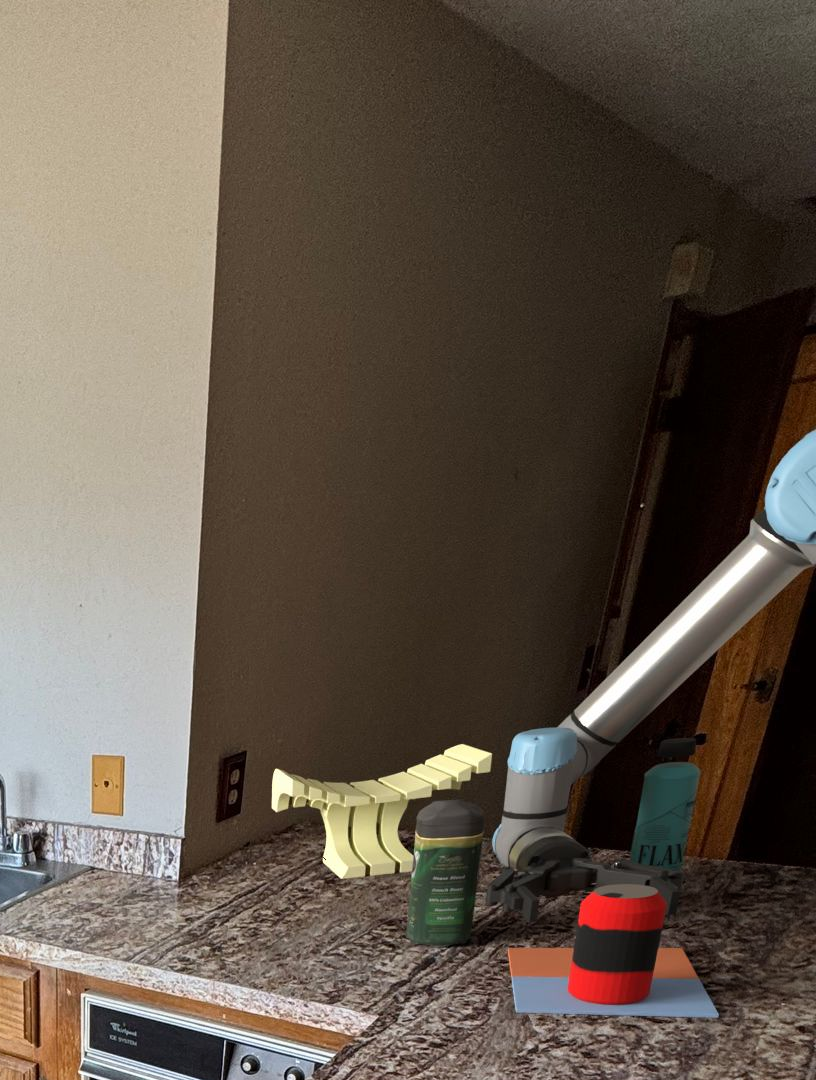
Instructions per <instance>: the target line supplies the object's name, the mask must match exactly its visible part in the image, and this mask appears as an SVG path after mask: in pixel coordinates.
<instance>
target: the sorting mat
mask: <svg viewBox="0 0 816 1080" xmlns="http://www.w3.org/2000/svg"><path fill="white" fill-rule="evenodd" d="M573 951H574V947H508V948H507V955H508V962H509V970H510V979H511V985H512V992H513V1001H514V1009H515V1013H517V1014H518V1013H519V1014H556V1015H590V1016H591V1015H593V1016H594V1015H596V1016H626V1017H627V1016H631V1017H632V1016H635V1017H666V1018H667V1017H669V1018H702V1019H703V1018H705V1019H706V1018H707V1019H708V1018H709V1019H711V1018H712V1019H718V1018H719V1016H720V1014H719V1012H718V1011H717V1008H716V1007H715V1005H714V1002H713V1001H712V999H711V997H710V996H709V994H708V992H707V990H706V989H705V986H704V985H703V983H702V981H701V980H700V978H699V975H698V974H697V973H696V970H695V969H694V967H693V965H692V963H691V961H690V960H689V958H688V956H687V954H686V952H685V950H684V949H683V947H658V952H657V957H656V963H655V968H654V973H653V978H652V983H651V988H650V993H649V995H648V996H647V997H646V998H644V999H643V1000H641V1001H639V1002H636V1003H632V1004H624V1005H603V1004H594V1003H589V1002H585V1001H581V1000H579V999H576V998H574V997H573V996H572V995H571V994H570V993H569V992H568V989H567V988H568V982H569V976H570V969H571V963H572V957H573Z"/></svg>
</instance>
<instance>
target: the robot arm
mask: <svg viewBox="0 0 816 1080" xmlns="http://www.w3.org/2000/svg"><path fill="white" fill-rule="evenodd" d="M766 487H767V488H766V489H765V491H766V492H765V495H764V507H763V508H762V509H761V510H760V511H759V512H758V513H757V514H756V515H755V516H754V517H753V518H752V519H751V520H750V525H749V533H748V535H747V536H745V538H744V539H743V540H742V541H741V542H740V543H739V544H738V545H737V546H736V547H735V548H734V549H733V550H732V551H730V553H729V554H728V555H727V556H726V557H724V559H723V560H722V561H721V562H720V563H719V564H718V565H717V566H716V567H715V568H714V569H713V570H712V571H711V572H710V573H709V574H708V575H707V577H705V578H704V579H703V580H701V583H699V584H698V585H697V586H696V587H695V589H693V591H692V592H690V594H688V596H686V597H685V598H684V599H683V600H682V601H681V602H680V603H679V604H678V605H677V607H675V608H674V609H673V610H672V612H670V613H669V614H668V616H667V617H666V618H664V619H663V621H662V622H660V623H659V625H657V626H656V628H655V629H653V631H651V633H650V634H649V635H648V636H646V638H645V639H644V640H643V641H642V642H640V644H638V646H637V647H636V648H635V649H634V650H633V651H632V652H631V653H630V654H629V655H628V656H627V657H626V658H625V659H624V660H623V661H622V662H621V663H620V664H619V665H618V666H617V667H616V668H615V669H614V670H613V671H612V672H611V673H610V674H608V676H607V677H606V678H605V679H604V680H603V681H602V682H601V683H600V684H599V685H598V686H597V687H596V688H595V689H594V690H593V691H592V692H591V693H589V695H588V696H587V697H586V698H585V699H584V700H583V701H581V703H580V704H579V705H578V706H577V707H576V708H575V709H574V710H573V711H572V713H570V714H569V715H568V716H567V717H566V718H565V719H564V720H563V721H561V723H560V724H559V725H558V726H557V727H556V726H555V727H543V728H535V729H529V730H526V731H522V732H519V733H517V734H516V735H515V736H514V738H513V739H512V742H511V746H510V752H509V756H508V757H507V773H506V774H507V776H506V783H505V785H506V786H505V794H504V803H503V810H502V811H503V812H502V817H501V823H500V824H499V826H497V828H496V830H495V831H494V833H493V836H492V840H491V843H492V850H493V852H494V854H495V855H496V859H498V862H499V863H500V864H501V865H502V866H503V867H501V872H500V874H499V875H497V876H496V877H495V878H494V879H493V880H491V882H490V883H489V884H488V885H487V887H486V893H485V894H486V895H485V904H484V905H485V906H487V907H494V906H495V907H496V906H497V905H498V904H499V903H502V907H501V908H502V910H501V911H502V912H503V913H513V912H514V911H517V912H518V913H519V914H520V915H521V916H522V917H523V918H524V919H525V920H526V922H528V923H530V924H532V923H537V922H538V916H539V915H538V914H539V907H540V899H539V898H538V897H537V896H539V897H544V898H557V897H563V896H565V895H567V894H570V893H572V892H579V891H586V892H591V893H592V892H593V891H594V890H595V889H596V888H598V887H602V886H606V885H615V884H637V885H645V886H650V887H653V888H656V889H657V890H658V892H659V894H660V895H661V896H662V898H663V899H664V900H665V901H666V903H667V906H666V912H665V915H668V916H670V915H677V910H678V907H679V901H680V896H681V892H682V888H683V882H684V877H685V872H682V871H680V872H678V871H673V870H669V869H663V868H658V867H653V866H649V865H644V864H639V863H634V862H631V861H629V859H628V858H624V857H619V858H616V859H614V863H613V865H612V864H610V863H608V862H600V861H593V858H592V856H591V854H590V852H589V851H588V849H587V848H586V847H585V846H584V845H582V844H581V843H580V842H578V841H577V840H576V839H574V838H573V837H572V836H570V835H569V834H567V833H566V832H565V826H566V821H567V820H566V819H567V813H568V805H569V799H570V793H571V788H572V787H571V786H572V785H573V784H574V783H576V782H577V781H578V780H579V779H581V778H583V777H585V776H586V775H588V774H589V773H590V772H592V770H593V769H595V768H596V767H597V766H598V765H599V764H600V762H601V760H602V759H603V758H604V757H605V756H607V755H608V753H609V752H611V751H612V750H613V749H614V748H615V747H616V746H617V745H618V744H619V743H620V742H621V741H622V740H623V739H624V738H625V737H626V736H627V735H628V734H629V733H630V732H632V730H633V729H635V728H636V727H637V726H638V725H639V724H640V723H641V722H642V721H644V719H645V718H646V717H648V716H649V715H650V714H651V713H652V712H653V711H654V710H655V709H656V708H657V707H658V706H659V705H661V703H662V702H664V701H665V700H666V699H667V698H668V697H670V695H671V694H672V693H673V692H674V691H675V690H677V689H678V687H680V686H681V685H682V684H683V683H684V682H685V681H686V680H687V679H688V678H690V676H691V675H693V673H695V672H696V671H697V670H698V669H699V668H700V667H701V666H703V664H704V663H705V662H707V661H708V660H709V659H710V658H711V657H712V656H713V655H714V654H715V653H716V652H717V651H718V650H719V649H720V648H722V646H723V645H725V644H726V643H727V642H728V641H729V640H730V639H731V638H732V637H733V636H734V635H735V634H737V633H738V631H740V630H741V629H742V628H743V627H744V626H746V624H747V623H748V622H750V620H752V618H754V617H755V616H756V615H757V614H758V613H759V612H760V611H761V610H762V609H763V608H764V607H766V605H767V604H768V603H770V602H771V601H772V600H773V599H774V598H775V597H776V596H777V595H778V594H779V593H780V592H781V591H782V590H784V589H785V588H786V587H787V586H788V585H789V584H790V583H791V582H792V581H793V580H794V579H795V578H796V577H797V576H798V575H800V574H801V573H802V572H803V571H804V570H806V569H808V568H812V567H814V568H815V569H816V428H815V429H814V430H812V431H810V432H808V433H807V434H805V435H804V436H803V438H801V439H800V440H799V441H798V442H797V443H796V444H794V445H793V446H792V447H791V448H790V449H789V450H788V451H787V453H786V454H785V455H784V456H783V457H782V458H781V460H780V461H779V463H778V465H776V467H775V469H774V470H773V472H772V474H771V475H770V479H769V482H768V483H767V486H766ZM594 883H595V884H594Z"/></svg>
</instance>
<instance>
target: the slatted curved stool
mask: <svg viewBox="0 0 816 1080" xmlns="http://www.w3.org/2000/svg"><path fill="white" fill-rule="evenodd" d="M492 758H493V753H491V752H488V751H486V750H482V749H479V748H476V747H473V746H470V745H467V744H464V743H461V744H457V745H455V746H452V747H449V748H447V749H445V750H444V753H443V754H438V755H436V756H433V757H430V758H429V759H426V760H425V762H424V764H423V763H419V764H417V765H414V766H412V767H409V768H407V771H406V772H405V771H401V772H398V773H394V774H391V775H386V776H383V777H380V778H378V779H377V780H375V779H369V780H362V781H353V782H350V783H349V784H348V783H347V782H330V781H323V782H321V781H319V780H317V779H312V778H306V779H305V778H304V777H303V776H300V775H297V774H293V773H291V774H290V773H288V772H287V771H285V770H283V769H280V768H275V769H274V772H273V775H272V781H271V782H272V784H271V787H272V788H271V809H272V810H273V811H275V813H279V812H282V811H284V810H288V809H289V806H291V807H292V808H300V807H306V805H308V806H309V807H311V808H315V809H317V810H319V811H320V815H321V817H322V820H323V824H324V828H325V833H326V834H325V835H326V838H325V839H326V841H325V848H324V852H323V856H322V862H323V864H324V865H325V866H326V867H328V868H329V870H331V872H333V873H334V874H335V875H336V876H337V877H339V879H341V880H345V879H353V878H362V877H363V878H364V877H366V876H367V875H369V876H371V877H372V876H381V875H390V874H395V872H399V873H401V874H402V873H409V872H412V866H413V856H414V854H412V853H411V852H410V851H409V850H408V849H407V848H405V846H404V845H403V844H402V842H401V840H400V838H399V833H398V832H399V831H398V830H399V825H400V823H401V822H400V821H401V819H402V817H403V815H404V813H405V811H406V810H407V808H408V804H409V802H410V800H416V799H422V798H430V797H432V793H433V791H441V790H459V791H460V790H461V788H462V787H461V786H462V783H463V782H469V781H471V778H472V777H471V776H472V773H475V774H483V773H490V772H491V768H492ZM323 857H324V858H325V859H326V860H325V859H324V858H323Z"/></svg>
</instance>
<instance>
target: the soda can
mask: <svg viewBox="0 0 816 1080" xmlns="http://www.w3.org/2000/svg"><path fill="white" fill-rule="evenodd" d="M666 906H667V903H666V901H665V900H664V899H663V898H662V896H661V895H660V894H659V892H658V890H657V889H656V888H653V887H650V886H645V885H637V884H615V885H606V886H602V887H598V888H596V889H595V890H594V891H593V892H591V893H590V894H588V895H587V896H586V897H585V898H584V899H583V900H581V902H580V907H579V912H578V919H577V926H576V933H575V939H574V943H573V945H574V946H573V948H574V951H573V957H572V963H571V969H570V976H569V982H568V988H567V989H568V992H569V993H570V994H571V995H572V996H573V997H574V998H576V999H579V1000H581V1001H585V1002H589V1003H594V1004H603V1005H624V1004H632V1003H636V1002H639V1001H641V1000H643V999H644V998H646V997H647V996H648V995H649V993H650V988H651V983H652V978H653V973H654V968H655V963H656V957H657V952H658V948H660V941H661V936H662V932H663V926H664V921H665V916H666V913H665V912H666Z"/></svg>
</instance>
